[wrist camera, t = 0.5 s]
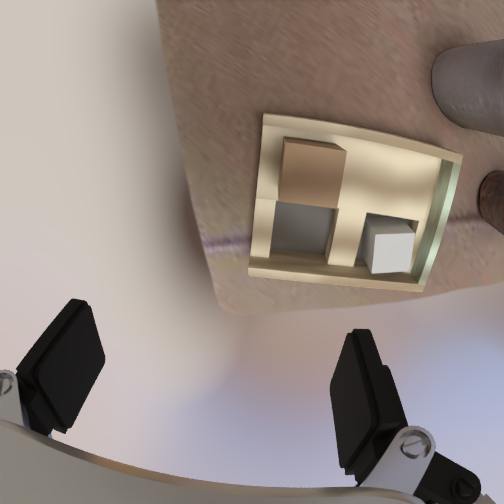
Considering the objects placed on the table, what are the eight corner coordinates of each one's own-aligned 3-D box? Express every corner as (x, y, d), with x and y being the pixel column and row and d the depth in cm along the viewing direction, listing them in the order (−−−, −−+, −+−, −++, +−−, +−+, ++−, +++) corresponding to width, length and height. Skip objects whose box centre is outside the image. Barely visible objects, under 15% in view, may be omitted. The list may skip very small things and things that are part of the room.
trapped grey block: (363, 218, 33) (375, 234, 29) (400, 217, 33) (415, 233, 29) (361, 254, 35) (371, 273, 31) (396, 252, 35) (409, 271, 31)
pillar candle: (503, 99, 25) (589, 115, 12) (461, 144, 28) (548, 177, 15) (460, 34, 22) (545, 16, 9) (412, 76, 26) (497, 67, 13)
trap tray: (264, 112, 29) (263, 114, 25) (440, 146, 29) (463, 155, 25) (251, 253, 37) (247, 275, 32) (407, 270, 36) (422, 292, 32)
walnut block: (283, 135, 28) (285, 142, 24) (335, 143, 28) (346, 151, 24) (277, 186, 30) (278, 201, 26) (327, 192, 30) (336, 208, 26)
